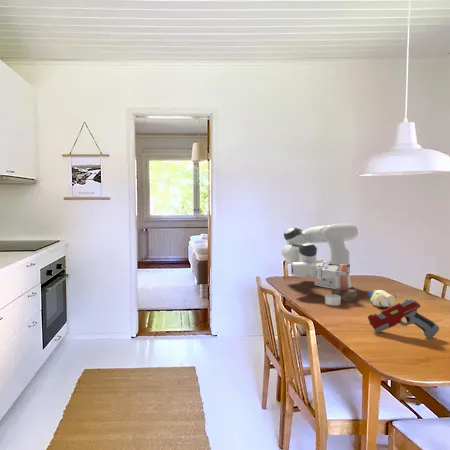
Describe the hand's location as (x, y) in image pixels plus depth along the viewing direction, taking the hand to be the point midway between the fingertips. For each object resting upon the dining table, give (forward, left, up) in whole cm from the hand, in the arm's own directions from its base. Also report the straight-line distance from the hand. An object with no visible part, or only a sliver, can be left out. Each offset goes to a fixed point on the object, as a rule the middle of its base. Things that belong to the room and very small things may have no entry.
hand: (346, 272), depth 223 cm
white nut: (-1, -14, -15) cm, 21 cm away
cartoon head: (+18, -1, -15) cm, 24 cm away
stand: (-1, 0, -15) cm, 15 cm away
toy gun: (+41, -39, -15) cm, 59 cm away
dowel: (-1, 0, -10) cm, 10 cm away
